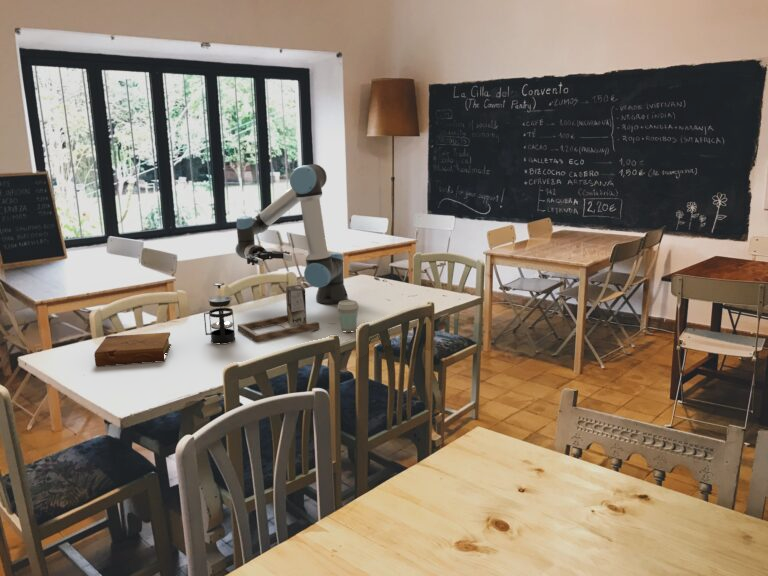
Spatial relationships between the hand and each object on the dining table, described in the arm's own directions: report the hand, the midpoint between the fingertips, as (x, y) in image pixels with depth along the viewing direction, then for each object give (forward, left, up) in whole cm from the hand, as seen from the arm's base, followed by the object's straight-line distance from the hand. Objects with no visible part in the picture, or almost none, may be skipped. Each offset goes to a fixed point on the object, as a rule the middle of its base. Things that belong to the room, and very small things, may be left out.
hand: (276, 260), depth 271 cm
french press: (+32, +13, -26) cm, 43 cm away
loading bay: (+8, +14, -26) cm, 30 cm away
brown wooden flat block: (+64, +10, -26) cm, 70 cm away
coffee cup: (-14, +33, -26) cm, 45 cm away
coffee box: (-1, +14, -26) cm, 29 cm away
